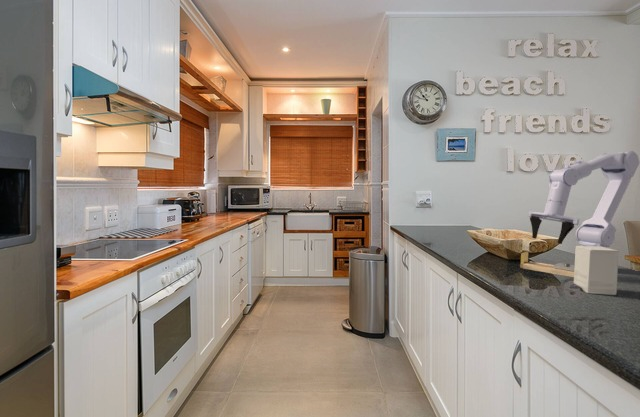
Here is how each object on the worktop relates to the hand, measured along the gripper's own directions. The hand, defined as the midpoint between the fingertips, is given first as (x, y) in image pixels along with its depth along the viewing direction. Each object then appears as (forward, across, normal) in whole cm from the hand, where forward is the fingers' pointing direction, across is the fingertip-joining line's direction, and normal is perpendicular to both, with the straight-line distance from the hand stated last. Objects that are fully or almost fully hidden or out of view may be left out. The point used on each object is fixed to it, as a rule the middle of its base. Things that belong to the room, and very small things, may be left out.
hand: (546, 240), depth 113 cm
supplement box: (+12, +17, -8) cm, 22 cm away
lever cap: (+8, +7, +3) cm, 11 cm away
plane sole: (+11, +3, +4) cm, 12 cm away
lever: (+11, -6, +4) cm, 13 cm away
